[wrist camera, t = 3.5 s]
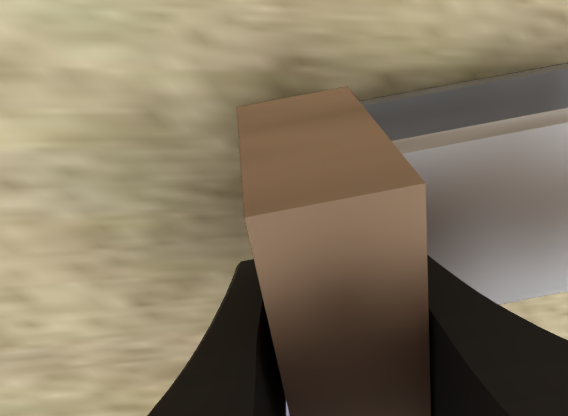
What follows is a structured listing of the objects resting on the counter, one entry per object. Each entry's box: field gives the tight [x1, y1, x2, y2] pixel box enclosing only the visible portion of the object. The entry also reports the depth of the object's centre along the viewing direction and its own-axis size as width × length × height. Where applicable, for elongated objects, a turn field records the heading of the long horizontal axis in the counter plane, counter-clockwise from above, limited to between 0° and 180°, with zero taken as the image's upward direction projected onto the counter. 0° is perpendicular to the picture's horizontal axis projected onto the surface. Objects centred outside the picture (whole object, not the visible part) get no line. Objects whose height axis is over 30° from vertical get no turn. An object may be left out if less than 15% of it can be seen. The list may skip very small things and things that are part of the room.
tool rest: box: [359, 63, 568, 141], centre depth 21 cm, size 10×14×1 cm
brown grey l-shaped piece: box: [237, 87, 568, 416], centre depth 11 cm, size 8×12×5 cm, turn 99°
